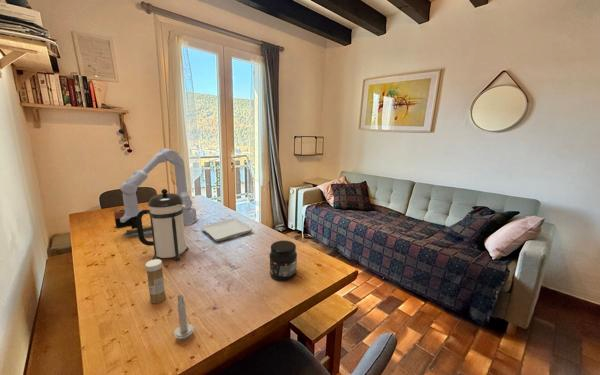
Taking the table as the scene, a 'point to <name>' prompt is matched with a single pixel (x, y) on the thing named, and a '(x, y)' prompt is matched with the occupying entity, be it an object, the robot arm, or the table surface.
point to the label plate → (146, 234)
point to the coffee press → (164, 225)
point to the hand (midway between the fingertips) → (134, 230)
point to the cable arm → (132, 231)
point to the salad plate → (226, 229)
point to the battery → (118, 215)
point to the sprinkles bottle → (155, 280)
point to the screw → (183, 322)
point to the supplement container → (283, 260)
